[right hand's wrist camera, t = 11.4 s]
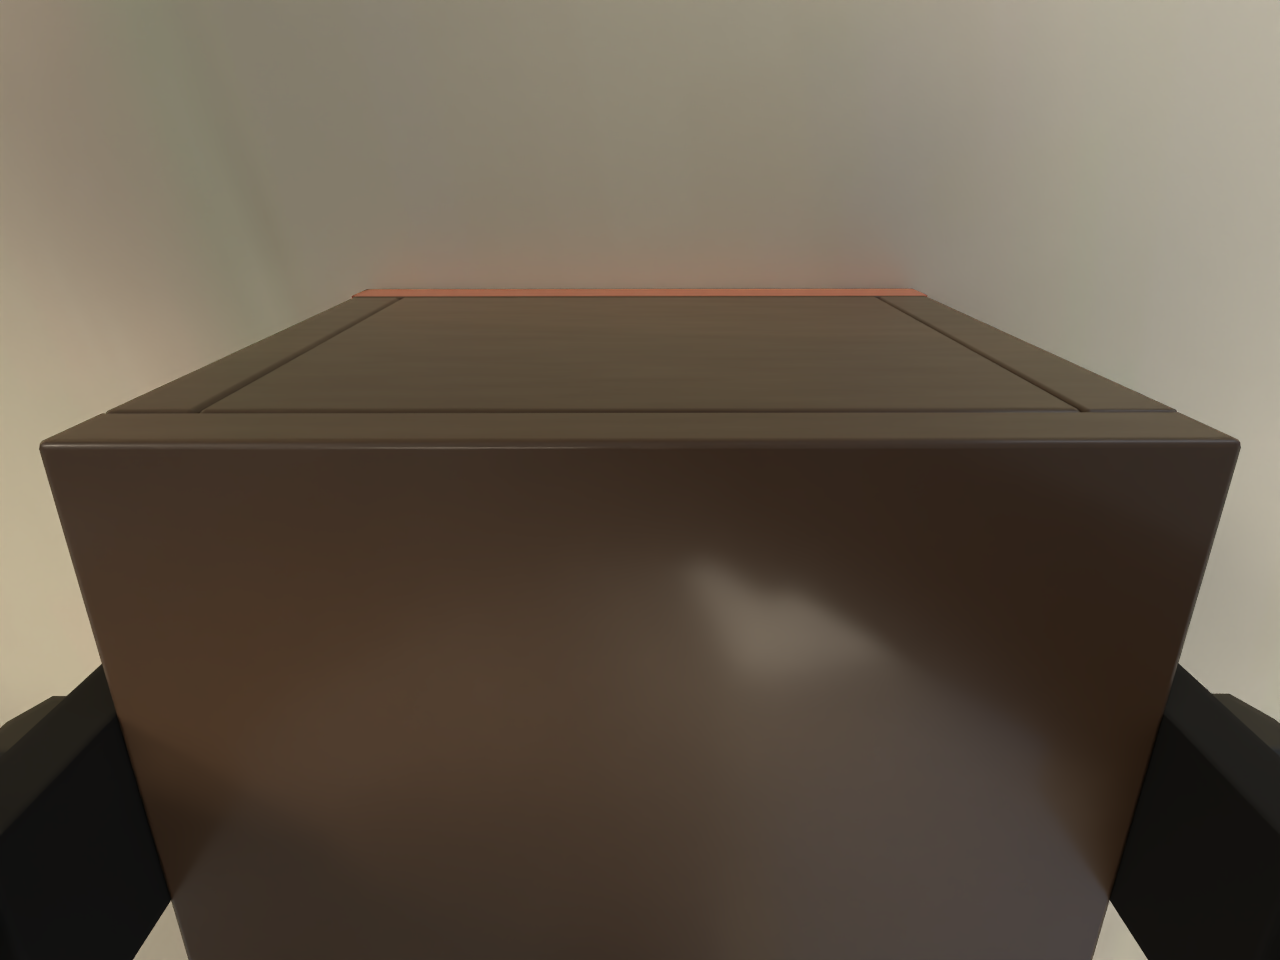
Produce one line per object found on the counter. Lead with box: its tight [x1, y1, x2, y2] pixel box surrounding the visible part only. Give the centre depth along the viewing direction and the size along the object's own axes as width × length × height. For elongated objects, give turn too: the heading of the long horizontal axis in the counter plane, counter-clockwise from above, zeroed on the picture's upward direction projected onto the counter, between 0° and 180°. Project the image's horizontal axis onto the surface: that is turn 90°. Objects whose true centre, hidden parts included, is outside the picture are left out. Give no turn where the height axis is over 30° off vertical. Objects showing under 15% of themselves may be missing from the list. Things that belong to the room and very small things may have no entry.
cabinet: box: [39, 289, 1241, 960], centre depth 15 cm, size 18×11×10 cm, turn 0°
